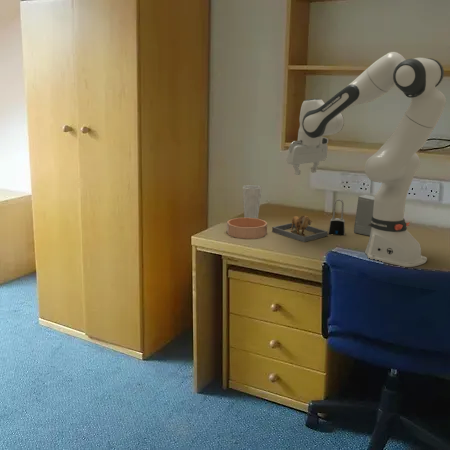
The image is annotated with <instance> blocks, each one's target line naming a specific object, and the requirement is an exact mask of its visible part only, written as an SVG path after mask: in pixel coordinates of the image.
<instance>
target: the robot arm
mask: <svg viewBox="0 0 450 450" xmlns="http://www.w3.org/2000/svg"><path fill="white" fill-rule="evenodd" d="M444 75H445V69H444V67H443V65H442V63H441V62H439V61H438V60H437V59H434V58H429V57H428V58H427V57H426V58H425V57H415V58H407V59H406V58H405V57H404V56H403V55H402V54H401V53H399V52H397V51H389V52H388V53H386V54H384V55H383V56H381V57H380V58H378V59H377V60H375V61H374V62H373V63H372V64H370V65H369V66H368V67H367V68H366V69H365V70H363V72H362V73H360V74H359V75H358V76H357V77H356V78H355V79H354V80H353V81H351V82H350V83H349V84H347V86H345V87H344V88H343V89H341V90H340V91H339V92H337V93H336V94H335V95H333V96H332V97H331V98H330V99H328V100H327V101H326V102H324V101H323V99H321V98H308V99H305V100H303V102H302V104H301V107H300V113H299V121H298V122H299V128H298V131H297V140H293V141H292V142H290V144H289V147H288V150H287V154H286V155H287V156H286V162H287V164H288V165H291V166H293V168H294V175H295V176H300V175H301V173H302V171H301V170H300V168H299V167H300V165H303V164H312V163H313V165H312V167H311V168H310V173H316V172H317V170H318V166H320V162H324V161H326V159H327V158H328V151H329V150H328V144H329V138H327V137H325V136H330V135H331V136H332V135H335V134H338V133H340V132H342V130H343V128H344V126H345V125H344V124H345V118H344V115H343V112H344V111H346V110H348V109H349V108H351V107H354V106H357V105H361V104H365V103H366V104H367V103H371V102H374V101H376V100H378V99H380V98H381V97H383V96H384V95H386V94H387V93H388V92H389V91H390V90H391V89H392V88H394V87H395V86H396V87H397V88H398V90H400V91H401V92H402V93H403V94H404V96H406V97H407V98H408V99H409V98H411V101H410V102H409V103H410V104H409V106H408V107H407V108H406V111H405V112H404V114H403V115H402V118H401V119H400V121H399V123H398V124H397V126H396V128H395V129H394V131H393V132H392V134H391V135H390V136H389V137H388V138H387V140H386V141H385V142H384V143H383V144H382V145H381V146H380V147H379V148H378V150H377V151H376V152H375V153H373V154H372V155H371V156H370V157H368V158H367V160H366V161H365V165H364V172H365V175H366V176H367V179H368V180H370V181H371V182H374V183H381V185H380V187H379V189H378V191H376V193H375V194H374V196H375V197H374V208H373V216H372V218H371V233H370V236H369V238H368V243H367V245H366V249H365V251H364V253H365V255H366V257H368V258H367V259H369V258H370V259H369V260H373V259H375V260H374V261H377V260H379V261H378V262H381V261H382V262H383V263H386V264H391V265H395V266H399V267H404V268H412V267H417V266H421V265H424V264H425V263H427V261H428V258H427V256H424V255H422V249H421V244H420V242H419V241H418V240H417V239H416V238H415V237H414V236H413V235H412V234H411V232H409V230H408V226H410V222H409V221H408V222H406V220H405V218H404V216H405V208H406V203H407V201H406V200H407V196H408V193H409V191H410V187H411V185H412V182H413V179H414V177H415V175H416V174H417V172H418V171H419V170H420V168H421V160H420V156H419V155H418V153H417V152H418V151H419V150H421V148H423V147H424V146H425V144H426V142H427V141H428V140H429V137H430V136H431V134H432V132H433V130H434V129H435V127H436V126H437V124H438V122H439V120H440V118H441V116H442V114H443V112H444V109H445V108H446V107H445V106H446V103H447V99H446V98H447V97H446V96H445V94H444V93H443V92H442V91H440V90H439V89H438V88H437V87H438V86H439V85H440V84H441V83H442V81H443V79H444V77H445V76H444Z"/></svg>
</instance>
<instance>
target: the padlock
mask: <svg viewBox="0 0 450 450" xmlns="http://www.w3.org/2000/svg"><path fill="white" fill-rule="evenodd" d="M339 201H340V202H341V215H340V218H339V217H338V218H337V217H336V216H335V213H336V212H335V211H336V203H337V202H339ZM344 205H345V204H344V201H343V200H342V199H341V198H337V199H335V200H334V202H333V207H332V208H333V210H332V218H330V220H329V227H328V235H331V234H333V235H332V236H346V233H345V232H346V231H345V230H346V228H345V227H346V225H345V224H346V221H345V219H344V207H345V206H344ZM335 217H336V218H335Z"/></svg>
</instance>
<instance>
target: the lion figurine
mask: <svg viewBox="0 0 450 450" xmlns="http://www.w3.org/2000/svg"><path fill="white" fill-rule="evenodd" d="M291 220H292V221H291V223H292V226H291V227H289V229H291V230H290V232H291V233H294V230H295V231H296V234H297V235H300V234H301V236H304V237H305V236H306V234H305V231H306V230H305V229H306V227H308V226H311V224H312V222H313V221H312V220H311V219H310V218H309V216H308V215H302V216H301V217H299V216H297V215H295V216H292V219H291ZM294 224H295V227H294ZM300 231H301V233H300Z"/></svg>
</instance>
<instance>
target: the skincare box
mask: <svg viewBox="0 0 450 450" xmlns="http://www.w3.org/2000/svg"><path fill="white" fill-rule="evenodd" d="M374 197H375V195H370V194H363V195H359V196H358V199H357V204H356V212H355V220H354V227H353V232H354V234H359V235H364V236H369V237H370V233H371V218H372V216H373V208H374Z"/></svg>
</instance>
